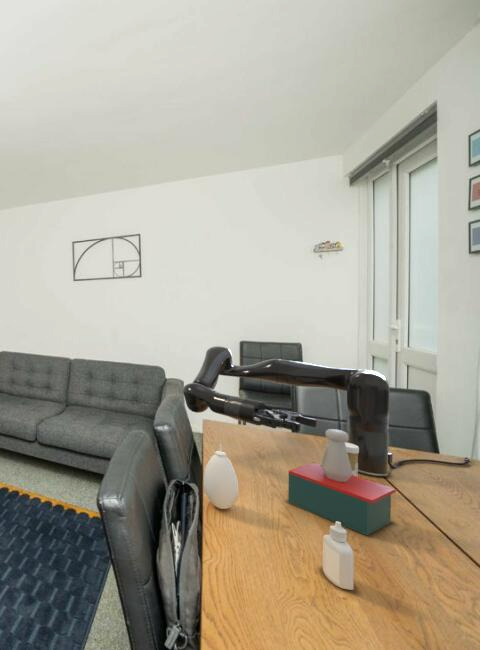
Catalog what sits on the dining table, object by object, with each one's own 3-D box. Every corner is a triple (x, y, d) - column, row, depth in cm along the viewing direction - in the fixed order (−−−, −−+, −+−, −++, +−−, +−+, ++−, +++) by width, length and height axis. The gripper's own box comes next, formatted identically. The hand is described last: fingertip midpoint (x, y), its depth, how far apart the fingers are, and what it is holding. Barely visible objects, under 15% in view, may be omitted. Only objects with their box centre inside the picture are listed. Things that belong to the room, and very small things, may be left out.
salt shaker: (358, 484, 92) (359, 435, 92) (332, 482, 93) (333, 433, 93) (339, 474, 98) (340, 427, 97) (315, 472, 99) (316, 426, 99)
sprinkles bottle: (334, 487, 108) (335, 443, 108) (338, 482, 111) (338, 440, 110) (356, 493, 104) (357, 448, 104) (359, 489, 107) (360, 445, 107)
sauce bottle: (231, 501, 101) (232, 439, 100) (243, 517, 93) (243, 450, 93) (200, 497, 103) (200, 436, 103) (208, 512, 96) (208, 446, 96)
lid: (395, 492, 90) (395, 489, 90) (371, 503, 85) (372, 500, 85) (312, 464, 105) (312, 462, 105) (288, 473, 100) (288, 470, 100)
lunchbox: (390, 522, 91) (391, 490, 91) (366, 535, 86) (367, 501, 86) (312, 492, 105) (312, 465, 105) (288, 502, 100) (288, 473, 100)
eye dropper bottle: (321, 581, 72) (322, 523, 72) (322, 567, 76) (323, 512, 76) (353, 594, 69) (354, 533, 69) (352, 578, 73) (353, 521, 73)
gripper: (231, 401, 113) (294, 416, 98) (258, 396, 118) (321, 409, 104) (231, 424, 113) (294, 442, 98) (258, 418, 119) (321, 434, 104)
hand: (308, 425), depth 101 cm, fingers open, 8 cm apart
